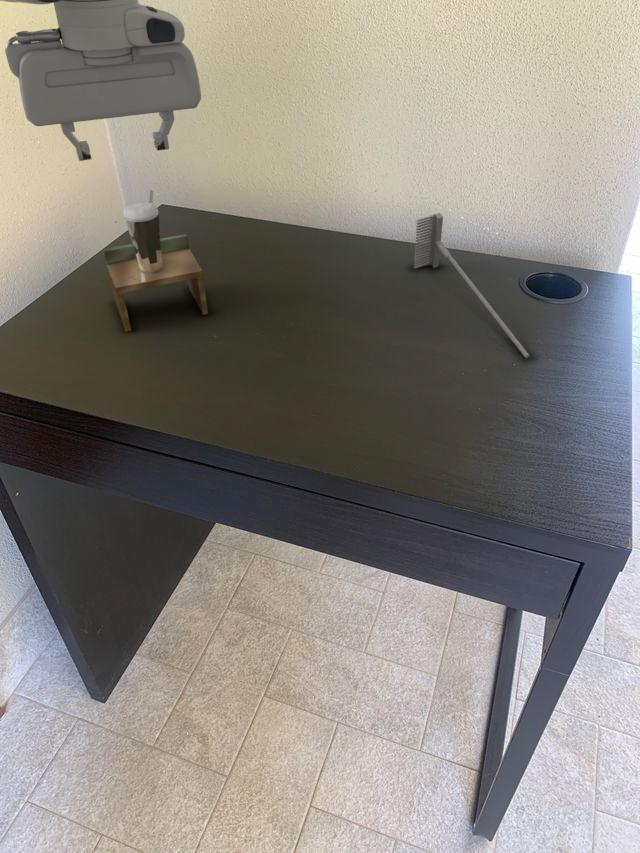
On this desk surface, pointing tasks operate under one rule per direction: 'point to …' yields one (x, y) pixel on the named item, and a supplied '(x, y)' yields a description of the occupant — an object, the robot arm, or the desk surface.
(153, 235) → the milkshake
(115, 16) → the robot arm
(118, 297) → the bench
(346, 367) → the desk surface
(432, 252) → the brush
